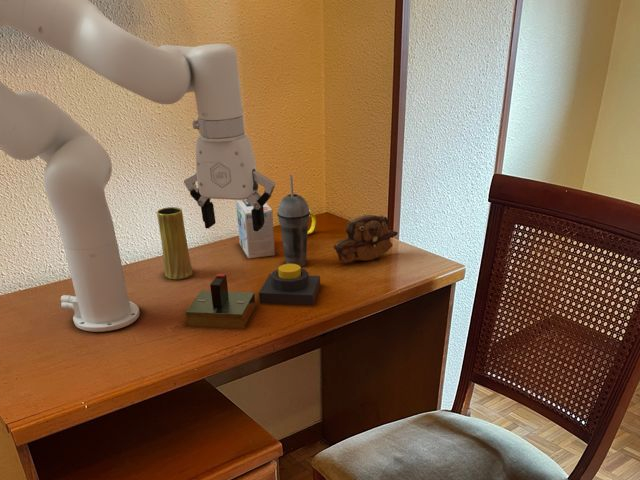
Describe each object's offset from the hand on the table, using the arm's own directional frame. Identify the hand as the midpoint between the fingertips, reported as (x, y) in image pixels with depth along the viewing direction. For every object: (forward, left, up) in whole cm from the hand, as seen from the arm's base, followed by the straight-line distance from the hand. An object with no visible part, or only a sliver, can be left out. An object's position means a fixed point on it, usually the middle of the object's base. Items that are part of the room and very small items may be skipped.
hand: (234, 227), depth 122 cm
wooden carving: (+22, +30, -17) cm, 41 cm away
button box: (+8, +9, -17) cm, 21 cm away
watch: (+5, +46, -17) cm, 49 cm away
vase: (-19, +17, -17) cm, 30 cm away
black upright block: (-3, -3, -14) cm, 14 cm away
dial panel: (-3, -3, -17) cm, 17 cm away
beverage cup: (+6, +26, -17) cm, 31 cm away
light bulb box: (-5, +34, -17) cm, 38 cm away
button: (+8, +9, -13) cm, 17 cm away
